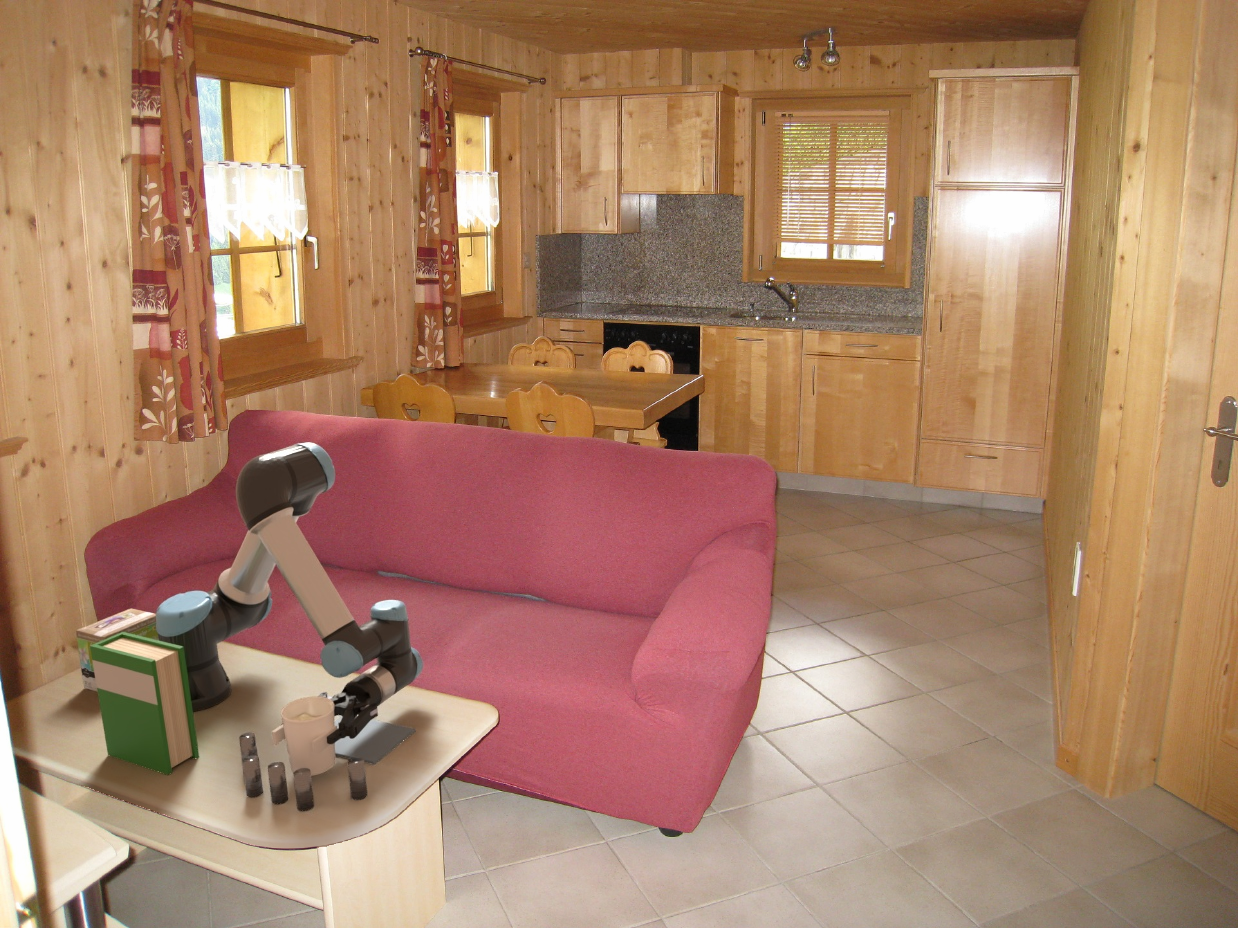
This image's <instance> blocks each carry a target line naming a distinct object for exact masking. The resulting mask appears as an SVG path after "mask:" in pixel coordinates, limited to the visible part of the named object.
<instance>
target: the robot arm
mask: <svg viewBox="0 0 1238 928" xmlns="http://www.w3.org/2000/svg"><path fill="white" fill-rule="evenodd" d="M236 479H237V480H236V485H235V497H236V498H235V499H236V504H237V508H238V511H239V515H240V517H241V519H242V521H243V523H244V524H245V526H246V528H247V532H246V535H245V537H244V539H243V541H242V543H241V546H240V548H239V550H238V552H237V555H236V557H235V558H234V561H233V562H232V565H231V567H229V568H227V569H225V570H223V571H222V572H221V573H220V575H219V577H218V579H217V581H216V584H215V585H214V587H213V588H212V589H211V590H209V591H207V592H206V591H203V590H189V591H186V592H184V593H181V592H179V593H177V594H175V595H173V596H171V597H168V598H167V599H166V600H164V601H163V602H161V604H160V605H159V606H158V607H157V609H156V612H155V614H156V630H157V632H158V638H159V641H163V642H167V643H171V644H175V645H179V646H183V647H184V653H185V660H186V667H187V674H188V681H189V688H190V695H191V702H192V710H193V712H196V711H197V712H198V711H202V710H205V709H208V708H211V707H214V706H217V705H218V704H220V703H221V702H223V701H225V700H226V699H227V698H229V696H230V695H231V693H232V686H231V685H232V684H231V680H230V678H229V676H228V675H227V672H226V670H225V668H224V667H223V665H222V663H221V661H220V657H219V651H218V644H219V643H222V642H223V641H225V640H227V639H229V638H231V637H233V636H235V635H237V634H240V633H241V632H243V631H245V630H247V629H251V628H252V627H256V626H257V625H258V624H260V623H261V622H262V621H264V620H265V619H266V618H267V617H268V615H269V614H270V612H271V609H272V606H273V599H272V598H271V596H272V590H271V589H270V584H269V580H270V577H271V576H272V574H273V571H274V569H275V567H277V568H278V570H279V572H280V574H281V575H282V577H283V579H284V580H285V582H286V583H287V585H288V586H289V588H290V590H291V592H292V593H293V595H294V596H295V598H296V600H297V602H298V603H299V605H300V606H301V608H302V610H303V611H304V614H305V615H306V616H307V618H308V619H309V621H310V623H311V624H312V626H313V627H314V629H315V631H316V633H317V634H318V636H319V638H320V640H321V641H322V643H323V645H324V646H323V647H322V649H321V650H320V651H321V652H320V656H319V657H320V660H321V666H322V668H323V670H324V671H325V672H326V673H327V674H329V676H332V677H334V678H340V679H341V678H345V677H348V676H349V675H351V674H353V673H355V672H358V671H360V670H361V669H362V668H363V667H365V666H366V665H367V664H369V663H371V662H372V661H374V660H375V659H376V663H375V664H374V665H373V666H371V667H369V668H368V669H367V670H365V671H363V672H362V673H360V674H359V675H358V676H356V677H355V678H353V679H352V680H350V681H348V682H347V683H346V684H345V685H344V687H343V689H342V691H341V692H340V693H337V694H334V695H333V696H330V695H328V692H326V691H323V692H321V693H320V694H319V695H317V696H318V697H325V698H328V699H330V700H332V701H333V702H334V706H335V707H334V717H337V716H340V717H342V716H343V717H342V719H341V722H340V723H339V722H338V725H339V728H338V729H337V726H335V725H333V727H332V728H331V729H330V730H328V731H327V732H325V733H323V734H321V735H319V736H318V737H317V738H315V739H314V740H312V741H311V745H312V754H313V755H317V754H318V753H319V752H321V751H322V750H324V749H325V748H326V747H328V746H329V745H330V744H334V743H335V742H337V741H338V740H339V739H341V738H345V737H346V736H349V738H350V739H354V738H355V737H356V736H357V735H358V734H359V733H360V732H361V731H362V730H363V728H364V727H365V726H366V725H367V724H368V723H369V722H370V720H372V719H373V720H374V719H375V718H377V717H378V716H379V713H378V707H379V706H380V705H382V704H383V703H385V702H386V701H387V700H388V699H389V698H391V697H392V696H394V695H395V694H397V693H398V692H400V691H402V690H403V689H404V688H406V687H407V686H409V685H411V683H413V682H414V680H416V679H417V678H418V677H419V676H420V675H421V673H422V672H423V669H424V661H423V658H422V657H421V655H420V652H419V651H418V650H417V649H416V648H414V647H412V643H411V635H410V626H409V625H410V623H409V617H408V610H407V606H406V604H405V602H403V601H401V600H398V599H396V600H395V599H386V600H380V601H378V602H376V603H374V604H372V606H371V608H370V615H369V617H370V620H368V621H366V622H364V623H363V624H361V625H359V624H358V623H357V621H356V620H355V619H354V617H353V615H352V613H351V612H350V610H349V608H348V607H347V605H346V604H345V601H344V600H343V599H342V597H341V596H340V594H339V592H338V590H337V589H336V587H335V585H334V584H333V582H332V580H331V579H330V577H329V575H328V573H327V572H326V570H325V569H324V567H323V565H322V563H321V562H320V561H319V559H318V557H317V555H316V554H315V552H314V551H313V549H312V547H311V545H310V544H309V542H308V540H307V539H306V537H305V535H304V534H303V532H302V530H301V529H300V527H299V525H298V524H297V521H298V520H299V517H303V516H305V515H307V514H308V513H310V511H311V510H312V507H313V505H314V503H315V502H316V499H317V497H318V496H319V495H320V494H324V493H326V492H327V491H328V490H330V489H331V488H332V487H333V486H334V485H335V484H334V483H335V480H336V469H335V466H334V464H333V460H332V458H331V457H330V455H329V453H328V452H327V451H326V450H325V449H324V448H323V447H322V446H320V445H319V444H316V443H313V442H302V443H295V444H293V445H289V446H287V447H284V448H281V449H277V450H273V451H271V452H269V453H264V454H260V455H257V456H255V457H253V458H251V459H250V460H249V461H247V462H246V463H245V465H244V466H243V467H242V468H241V470H240V471H239V473H238V476H237V478H236ZM271 738H272V745H273V746H277V745H278V744H280V743H281V742H283V741H284V740H285V741H286V739H285V733H284V728H283V722H282V723H281V724H280V726H278V727H276V728H275V729H273V730H272V731H271Z"/></svg>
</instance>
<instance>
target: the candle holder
mask: <svg viewBox="0 0 1238 928" xmlns="http://www.w3.org/2000/svg"><path fill="white" fill-rule="evenodd" d="M318 696H319V695H317V696H306V697H300V698H298V699H294V700H292V701H290V702H288V703H287V704H286V705H284V706H283V707H282V708H281V709H280V710H281V711H280V716H281V720H282V723H283V728H284V733H285V745H286V749H287V756H288V761H289V766H290V769H291V772H293V773H294V772H295V771H296V770H298V769H301V768H308V769H310V771H311V777H312V776H317V775H320V774H323V773H326V772H327V771H328V770H331V768H333V766H334V765H335V763H336V756H335V743H334V744H330V745H329V746H328V747H326V748H325V749H324V750H322V751H321V752H319V753H318V754H317V755H313V754H312V745H311V741H312V740H314V739H315V738H317V737H318V736H319V735H321V734H323V733H325V732H327V731H328V730H330V729H331V728H332V727H333V725H335V721H336V720H335V716H334V707H335V706H334V702H333V701H332V700H330V699H328V698H325V697H318Z"/></svg>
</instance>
